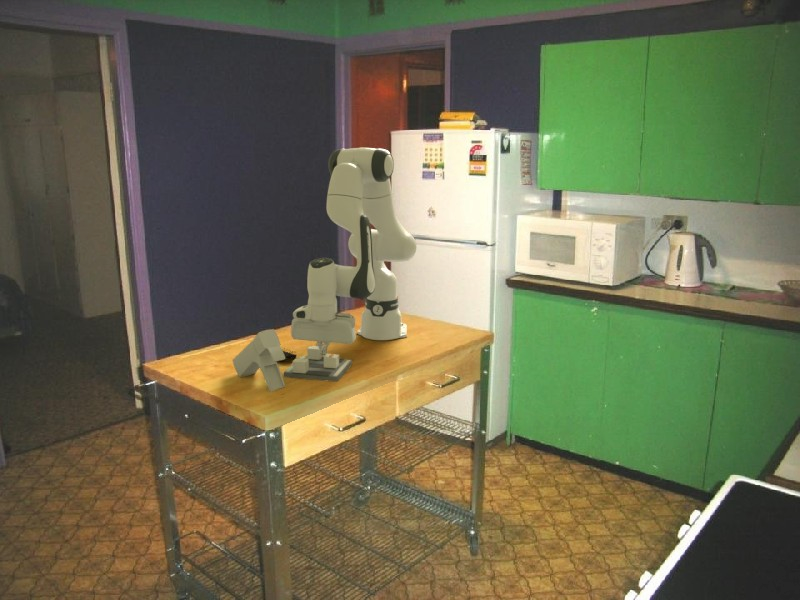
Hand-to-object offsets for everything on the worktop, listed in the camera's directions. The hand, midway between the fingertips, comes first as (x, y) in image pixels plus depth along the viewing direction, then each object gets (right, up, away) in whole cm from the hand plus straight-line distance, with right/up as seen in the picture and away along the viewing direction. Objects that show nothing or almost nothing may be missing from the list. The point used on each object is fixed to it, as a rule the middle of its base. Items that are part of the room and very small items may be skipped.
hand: (323, 354), depth 207 cm
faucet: (-18, -7, -9) cm, 21 cm away
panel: (-2, -5, +1) cm, 5 cm away
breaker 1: (-6, -5, -5) cm, 9 cm away
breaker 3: (+2, -4, 0) cm, 4 cm away
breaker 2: (-4, -2, +7) cm, 8 cm away
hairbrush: (-18, -2, +17) cm, 25 cm away
